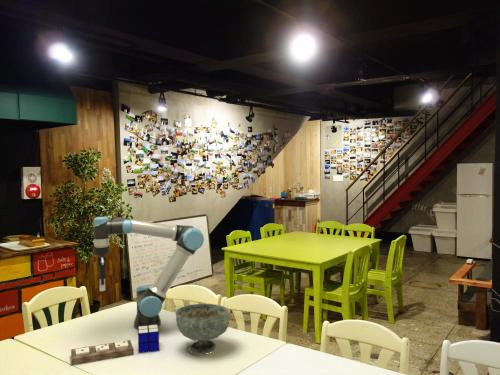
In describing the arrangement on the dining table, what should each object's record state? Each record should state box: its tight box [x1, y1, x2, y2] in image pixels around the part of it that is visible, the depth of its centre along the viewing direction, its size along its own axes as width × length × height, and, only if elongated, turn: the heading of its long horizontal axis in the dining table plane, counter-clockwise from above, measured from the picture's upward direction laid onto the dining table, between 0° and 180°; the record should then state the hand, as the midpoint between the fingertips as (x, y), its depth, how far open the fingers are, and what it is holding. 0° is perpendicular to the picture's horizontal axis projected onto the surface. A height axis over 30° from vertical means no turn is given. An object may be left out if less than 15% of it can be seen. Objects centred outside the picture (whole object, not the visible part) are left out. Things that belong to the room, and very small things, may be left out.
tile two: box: [115, 340, 129, 350], centre depth 212 cm, size 6×6×3 cm
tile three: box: [94, 343, 109, 353], centre depth 208 cm, size 6×6×3 cm
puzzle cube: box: [137, 325, 160, 354], centre depth 216 cm, size 10×10×10 cm
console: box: [70, 339, 135, 366], centre depth 208 cm, size 28×12×3 cm, turn 113°
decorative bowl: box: [175, 303, 231, 355], centre depth 214 cm, size 26×26×20 cm
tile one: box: [75, 346, 89, 356], centre depth 205 cm, size 6×6×3 cm
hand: (102, 290), depth 226 cm, fingers closed
